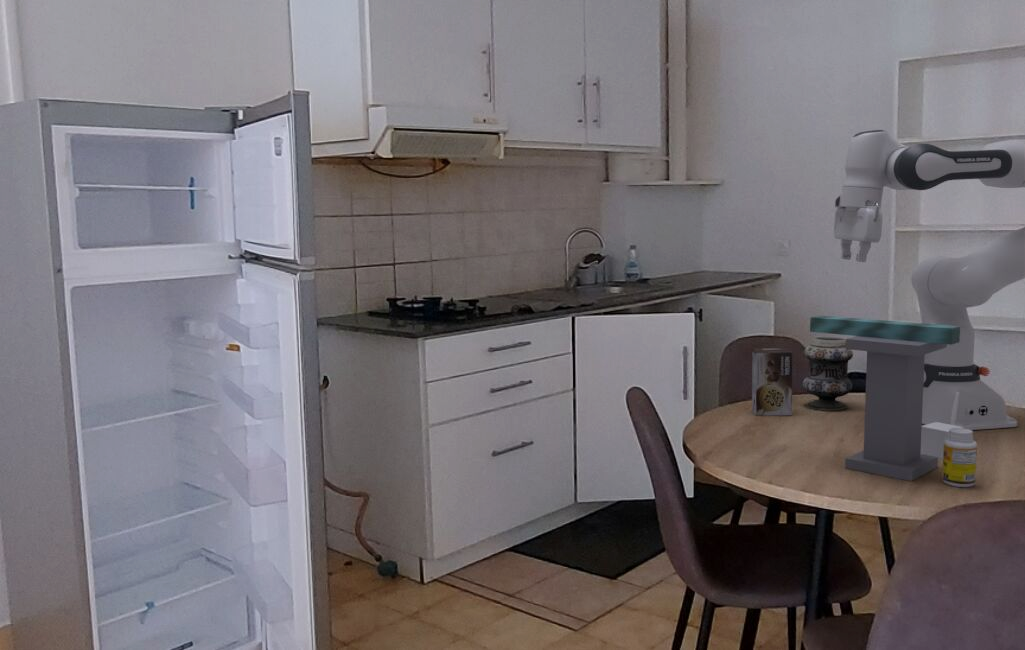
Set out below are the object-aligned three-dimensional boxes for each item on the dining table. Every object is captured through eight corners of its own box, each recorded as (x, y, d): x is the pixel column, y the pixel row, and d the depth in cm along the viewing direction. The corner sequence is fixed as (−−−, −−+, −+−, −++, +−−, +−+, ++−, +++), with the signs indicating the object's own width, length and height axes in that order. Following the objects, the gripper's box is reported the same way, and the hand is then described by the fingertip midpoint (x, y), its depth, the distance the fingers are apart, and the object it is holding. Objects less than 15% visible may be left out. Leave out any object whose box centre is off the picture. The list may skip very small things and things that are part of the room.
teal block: (810, 331, 190) (810, 317, 189) (819, 329, 193) (819, 315, 192) (951, 344, 170) (952, 328, 170) (959, 342, 173) (960, 326, 173)
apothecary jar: (859, 406, 237) (862, 337, 235) (838, 414, 229) (840, 342, 226) (815, 399, 246) (817, 333, 243) (793, 407, 237) (795, 338, 235)
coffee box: (787, 410, 234) (788, 347, 232) (792, 416, 228) (794, 351, 225) (750, 410, 235) (751, 347, 233) (754, 415, 228) (756, 351, 226)
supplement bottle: (944, 477, 176) (946, 425, 174) (976, 481, 173) (979, 428, 171) (940, 485, 171) (942, 431, 170) (973, 489, 168) (976, 435, 167)
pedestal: (841, 468, 183) (845, 338, 179) (871, 454, 192) (876, 331, 189) (913, 482, 173) (918, 345, 169) (941, 466, 183) (947, 337, 179)
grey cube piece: (946, 460, 187) (947, 431, 187) (919, 454, 192) (920, 426, 191) (962, 455, 191) (963, 427, 190) (935, 449, 196) (936, 421, 195)
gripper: (893, 201, 202) (884, 264, 204) (858, 202, 222) (850, 259, 224) (864, 199, 202) (856, 262, 204) (832, 200, 222) (825, 257, 224)
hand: (853, 260), depth 214 cm, fingers open, 8 cm apart
